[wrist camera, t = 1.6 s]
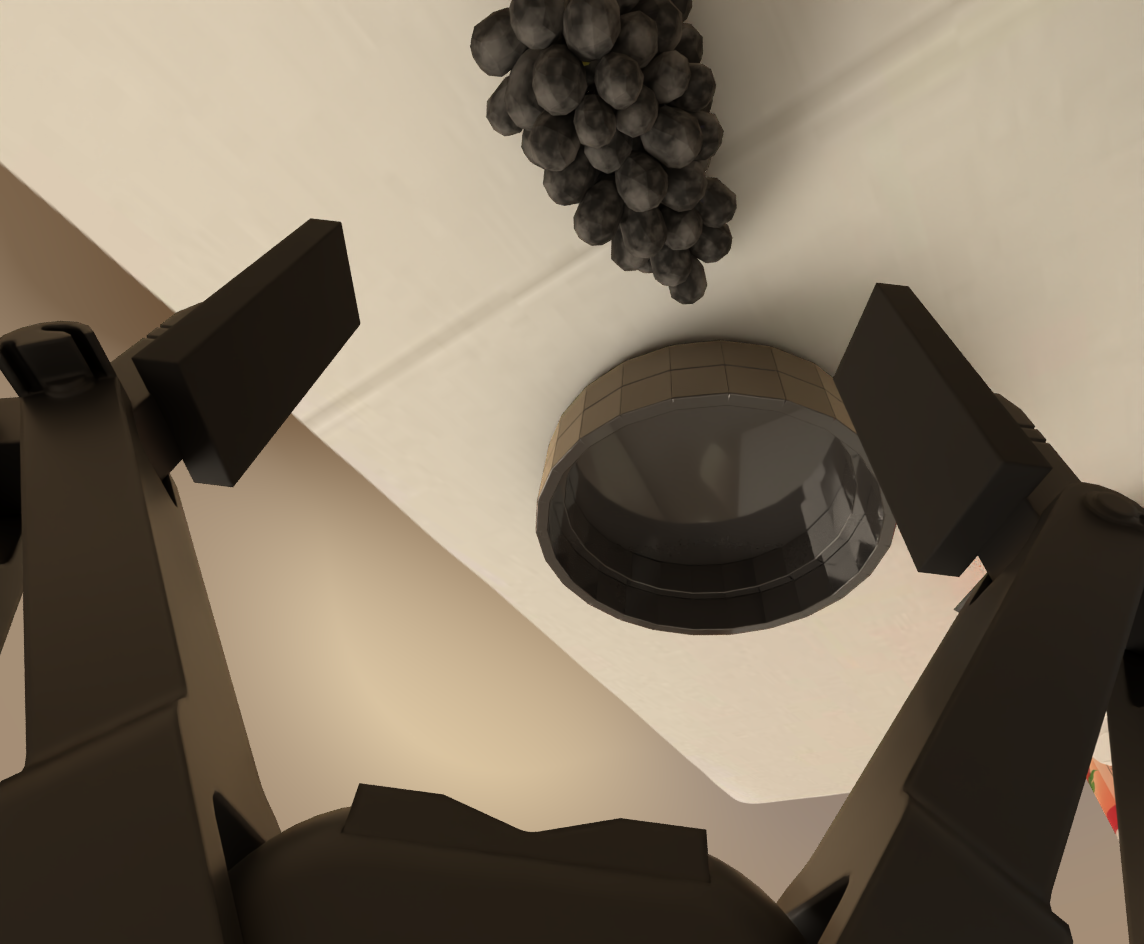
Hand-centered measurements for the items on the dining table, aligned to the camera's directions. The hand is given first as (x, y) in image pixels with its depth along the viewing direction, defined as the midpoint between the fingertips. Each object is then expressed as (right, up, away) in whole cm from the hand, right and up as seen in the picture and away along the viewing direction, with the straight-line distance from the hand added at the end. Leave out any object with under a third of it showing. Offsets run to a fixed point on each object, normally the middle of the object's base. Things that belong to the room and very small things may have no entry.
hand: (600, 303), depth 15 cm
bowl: (+8, -4, +26) cm, 27 cm away
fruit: (+2, +11, +13) cm, 17 cm away
